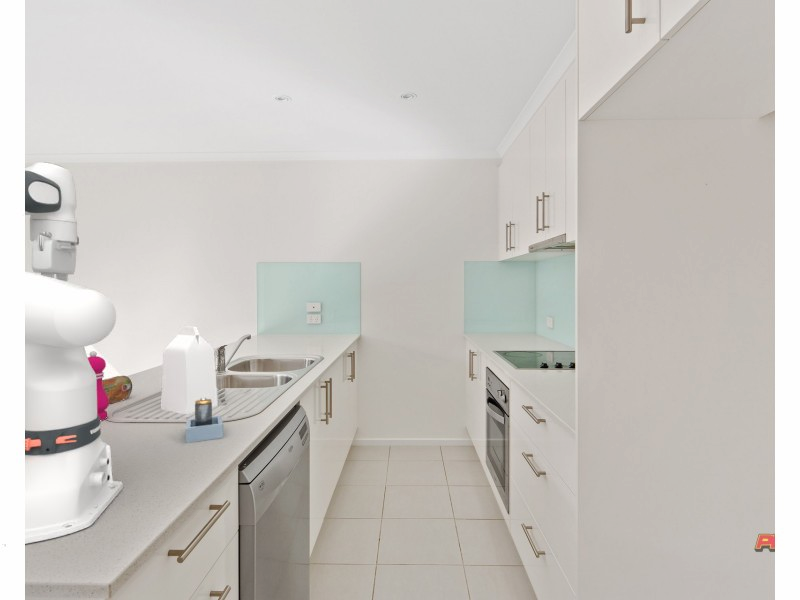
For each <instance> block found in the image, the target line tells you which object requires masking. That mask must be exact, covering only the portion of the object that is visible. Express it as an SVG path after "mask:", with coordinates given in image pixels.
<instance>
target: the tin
mask: <svg viewBox="0 0 800 600" xmlns="http://www.w3.org/2000/svg"><path fill="white" fill-rule="evenodd" d="M102 385H103V389H104V391H105V393H106V395H107V396H108V399H109V404H110V405H112V404H111V403H113V404H115V403H114V402H116V403H118V402H117V401H119V402H121V401H120V400H123V399H125V400H127V399H128V398H129V397H130V396H131V394H132V390H133V383H132V379H131V378H130V377H129V376H126V375H118V376H117V375H116V376H112V377H108V378H105V379H102ZM123 401H124V400H123Z"/></svg>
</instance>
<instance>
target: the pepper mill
mask: <svg viewBox="0 0 800 600" xmlns="http://www.w3.org/2000/svg"><path fill="white" fill-rule="evenodd" d="M88 354H89V356H87V358H88V361H89V363H90V365H91V367H92V369H93V370H94V372H95V374H96V380H97V415H99V416H100V420H102V421H104V420H103V419H105V418H106V417H107V418H108V411H107V409H108V407H109V406H110V405H109V399H108V396H107V395H106V393H105V391H104V389H103V385H102V380H103V378H105V375H104V374H105V372H103V371H104V370H105V369H106V365H107V364H106V360H105V359H104V358H103V357H101V356H97V354H98V353H97V351H95V350H91V351H90V352H89V353H88ZM107 418H106V419H107ZM106 419H105V420H106Z"/></svg>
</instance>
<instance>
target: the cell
mask: <svg viewBox="0 0 800 600" xmlns="http://www.w3.org/2000/svg"><path fill="white" fill-rule="evenodd" d="M212 416H213V407H212V402H211V399H206V398H200V400H196V401H195V412H194V419H195V426H204V425H212Z"/></svg>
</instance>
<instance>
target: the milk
mask: <svg viewBox="0 0 800 600" xmlns="http://www.w3.org/2000/svg"><path fill="white" fill-rule="evenodd" d="M161 373H162V374H161V375H162V376H161V398H160V399H161V401H160V410H162V411H166V412H171V413H178V414H182V415H189V414H193V413H195V401H196V400H200V398H206V399H211V402H212V408H213V407H217V406H218V405H219V404H218V403H219V402H218V389H217V388H218V387H217V373H216V359H215V349H214V347H213V346H212V345H211V344H210V343H209V342H208V341H206V340H205V339H204V338H203V336H201V335H200V332H199V330H198V327H197V326H193V325H192V326H191V325H180V326H179V330H178V334H177V335H176V336H175V337H174V338H173V340H171V341H170V342H169V344H168V345H167V346H166V347H165V348H164V350H163V354H162V372H161Z"/></svg>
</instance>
